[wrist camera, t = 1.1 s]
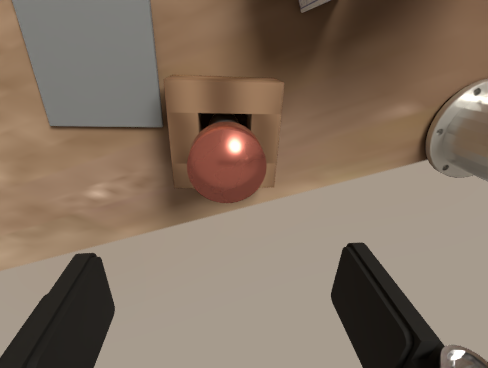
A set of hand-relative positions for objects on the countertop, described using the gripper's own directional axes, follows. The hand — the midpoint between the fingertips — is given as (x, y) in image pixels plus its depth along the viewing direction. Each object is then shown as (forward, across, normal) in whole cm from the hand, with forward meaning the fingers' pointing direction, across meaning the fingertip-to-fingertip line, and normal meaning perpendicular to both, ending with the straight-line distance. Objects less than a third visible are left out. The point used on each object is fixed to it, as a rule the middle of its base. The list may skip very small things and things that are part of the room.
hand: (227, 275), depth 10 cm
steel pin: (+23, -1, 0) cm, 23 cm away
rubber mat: (+23, +12, -6) cm, 27 cm away
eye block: (+23, -1, 0) cm, 23 cm away
